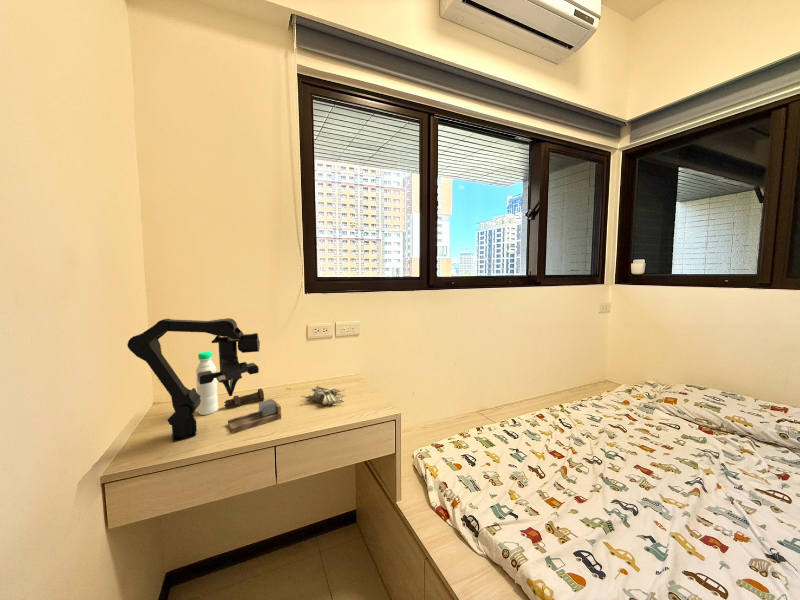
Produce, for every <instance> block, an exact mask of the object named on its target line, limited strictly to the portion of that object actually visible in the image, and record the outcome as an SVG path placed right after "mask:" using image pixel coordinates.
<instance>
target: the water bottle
mask: <svg viewBox="0 0 800 600" xmlns="http://www.w3.org/2000/svg"><path fill="white" fill-rule="evenodd" d="M197 355H198V356H197V357H198V360H199V363H198V365H197V367H196V370H195V374H196V392H197V393H198V394H199V395H200V396H201V397H200V400H201V402H200V405H199V407H198V408H197V410H198V411H197V412H198V414H199V415H201V416H208V415H212V414H214V413H216V412H217V411H218V410H219V402H218V401H219V400H218V399H219V397H218V380H217V378H213V379H214V380H213V381H212V382H211V383H206V384H200V383H199V382H198V377H197V375H198V374H199V373H200V372H205V371H211V372H212V373H216V372H217V366H215V364H214V362H213V361H212V358H213V353H212V351H202V352H199V353H198V354H197Z"/></svg>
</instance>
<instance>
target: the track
mask: <svg viewBox="0 0 800 600" xmlns="http://www.w3.org/2000/svg"><path fill="white" fill-rule="evenodd" d="M274 401H275V400H274ZM275 402H276V414H274V415H271V416H268V417H264V418H262V417H261V416H260V415H259V410H258V411H255V412H250V413H248V414H245V415H240V416H238V417H235V418H234V417H233V418H230V419H227V425H228V428H229V429H230V431H231V432H232V434H236V433H240V432H243V431H245V430H249V429H253V428H255V427H258V426H262V425H266V424H268V423H271V422H274V421H279V420H282V406H281V405H280V404H279V403H278V402H277V401H275Z"/></svg>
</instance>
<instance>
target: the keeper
mask: <svg viewBox="0 0 800 600" xmlns="http://www.w3.org/2000/svg"><path fill="white" fill-rule="evenodd" d="M276 402H277V401H276ZM276 402H275V399H273V398H269V399H266V400H264V401H261V402H260V401H259V402H258V411H259V415H260V416H261V417H262V418H264V417H268V416H271V415H274V414H276Z"/></svg>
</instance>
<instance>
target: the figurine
mask: <svg viewBox="0 0 800 600" xmlns="http://www.w3.org/2000/svg"><path fill="white" fill-rule="evenodd" d="M311 391H312V392H313V394H309V395H308V396H306V395H300V397H301V398H304V399H308V401H312V402H315V403H320V404H322V405H323V406H324V405H325V406H331V405H336V404H340V403H345V401H344V400H342V399H340V398H338V397H337V395H338V396H341V397H342V396H346V394H345V392H346V389H345V388H344V389H340V390H339V389H337V388H331V389H328V388H325V387H321V386H319V385H318V384H317V385H316V387H312V388H311ZM341 392H343V393H342V394H341Z"/></svg>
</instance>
